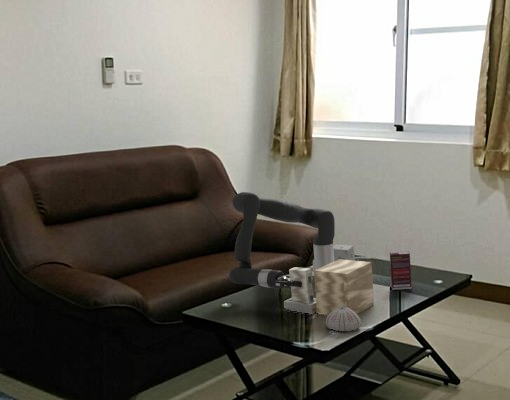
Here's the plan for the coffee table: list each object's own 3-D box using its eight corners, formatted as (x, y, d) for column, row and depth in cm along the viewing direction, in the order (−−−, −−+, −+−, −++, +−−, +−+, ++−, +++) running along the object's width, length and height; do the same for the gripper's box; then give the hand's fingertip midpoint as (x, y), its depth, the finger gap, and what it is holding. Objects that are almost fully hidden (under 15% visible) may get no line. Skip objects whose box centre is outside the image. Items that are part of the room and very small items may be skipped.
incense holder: (330, 267, 394) (329, 247, 392) (338, 263, 401) (337, 243, 399) (348, 269, 388) (347, 248, 387) (356, 265, 395) (355, 244, 394)
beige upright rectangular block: (292, 307, 328) (289, 269, 325) (298, 304, 331) (294, 267, 329) (311, 309, 322) (307, 271, 320) (316, 306, 326) (312, 268, 323)
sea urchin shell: (334, 321, 309) (333, 301, 308) (367, 324, 302) (366, 304, 301) (320, 332, 298) (318, 311, 297) (353, 335, 291) (352, 314, 290)
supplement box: (410, 286, 350) (409, 251, 348) (411, 289, 346) (410, 253, 343) (390, 287, 351) (389, 252, 349) (391, 290, 347) (390, 254, 344)
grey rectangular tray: (284, 310, 327) (283, 301, 327) (297, 304, 335) (296, 295, 334) (311, 314, 319) (311, 305, 319) (324, 308, 327) (323, 298, 326)
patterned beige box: (312, 313, 321) (309, 269, 318) (337, 300, 337) (335, 258, 334) (349, 318, 311) (346, 273, 308) (373, 304, 327) (371, 262, 324)
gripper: (260, 274, 329) (294, 278, 318) (280, 266, 340) (314, 269, 330) (261, 291, 330) (295, 296, 320) (281, 283, 341) (315, 287, 331)
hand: (304, 282), depth 325 cm, fingers open, 4 cm apart
